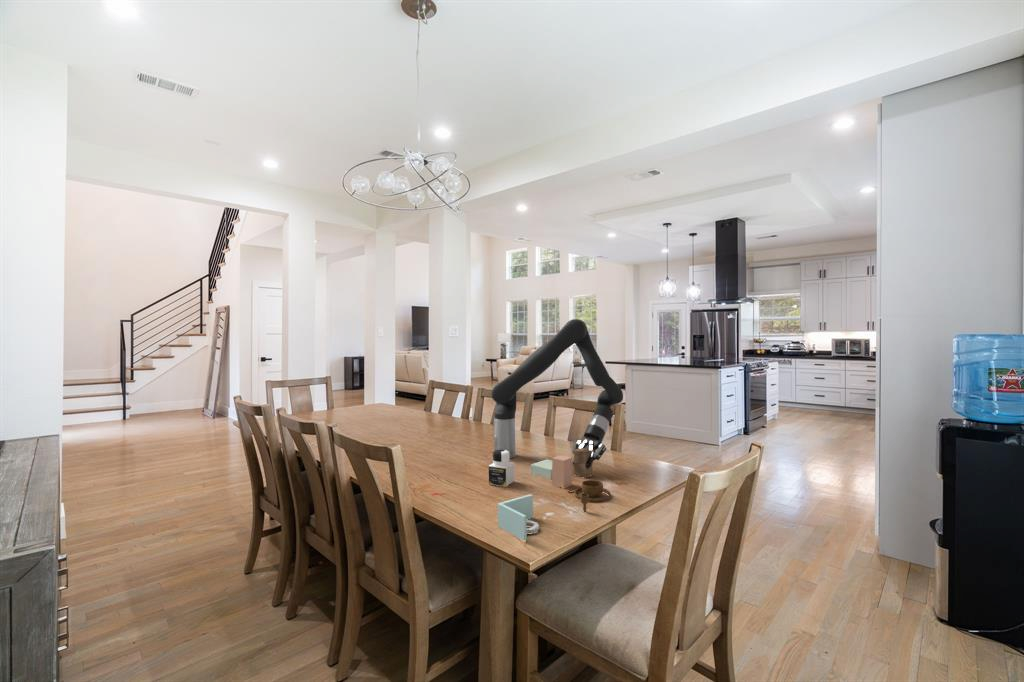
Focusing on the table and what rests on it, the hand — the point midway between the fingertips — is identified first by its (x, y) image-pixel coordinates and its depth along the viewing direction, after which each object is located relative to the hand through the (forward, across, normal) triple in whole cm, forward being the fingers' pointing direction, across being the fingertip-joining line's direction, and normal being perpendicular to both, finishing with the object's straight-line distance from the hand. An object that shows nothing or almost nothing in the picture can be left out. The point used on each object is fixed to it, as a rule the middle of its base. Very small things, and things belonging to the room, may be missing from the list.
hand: (580, 465), depth 177 cm
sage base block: (+6, -12, 0) cm, 13 cm away
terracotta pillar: (+12, 0, -6) cm, 13 cm away
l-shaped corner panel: (+38, +14, -31) cm, 51 cm away
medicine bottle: (+20, -19, -14) cm, 31 cm away
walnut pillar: (+2, 0, +4) cm, 5 cm away
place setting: (+17, +14, -10) cm, 24 cm away
